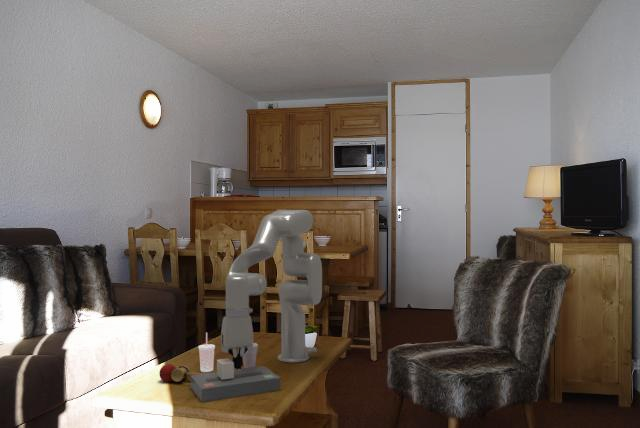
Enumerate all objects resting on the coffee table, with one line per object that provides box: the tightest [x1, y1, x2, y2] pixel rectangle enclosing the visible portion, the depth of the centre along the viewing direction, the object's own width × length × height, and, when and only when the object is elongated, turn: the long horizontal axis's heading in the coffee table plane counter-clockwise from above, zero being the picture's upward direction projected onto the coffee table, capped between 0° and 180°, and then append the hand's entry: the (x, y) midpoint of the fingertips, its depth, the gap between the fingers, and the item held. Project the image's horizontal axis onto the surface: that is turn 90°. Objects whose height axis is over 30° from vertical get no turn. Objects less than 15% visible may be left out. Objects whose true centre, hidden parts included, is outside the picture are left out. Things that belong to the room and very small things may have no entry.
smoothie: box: [243, 342, 259, 369], centre depth 202 cm, size 6×6×14 cm
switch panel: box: [189, 365, 281, 403], centre depth 182 cm, size 26×19×4 cm
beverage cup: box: [198, 332, 216, 373], centre depth 203 cm, size 6×6×14 cm
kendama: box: [159, 363, 207, 383], centre depth 189 cm, size 8×6×18 cm
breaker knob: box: [216, 357, 235, 380], centre depth 179 cm, size 4×6×5 cm, turn 26°
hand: (237, 368), depth 181 cm, fingers closed
